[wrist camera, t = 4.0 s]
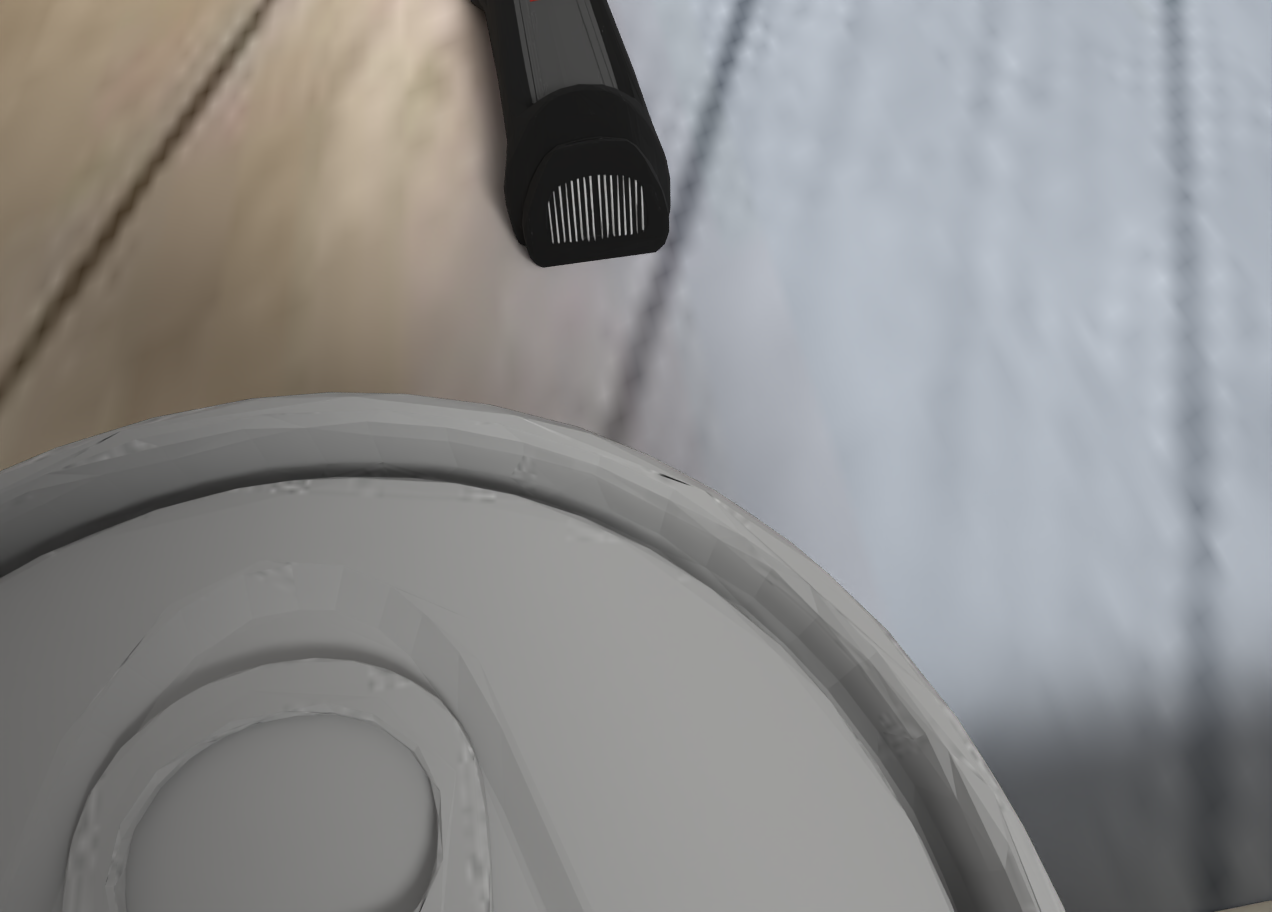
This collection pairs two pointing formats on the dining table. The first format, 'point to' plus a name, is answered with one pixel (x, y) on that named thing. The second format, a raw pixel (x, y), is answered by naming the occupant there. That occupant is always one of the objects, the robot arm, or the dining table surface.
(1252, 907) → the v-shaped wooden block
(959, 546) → the dining table surface
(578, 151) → the electric trimmer
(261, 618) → the beverage can
